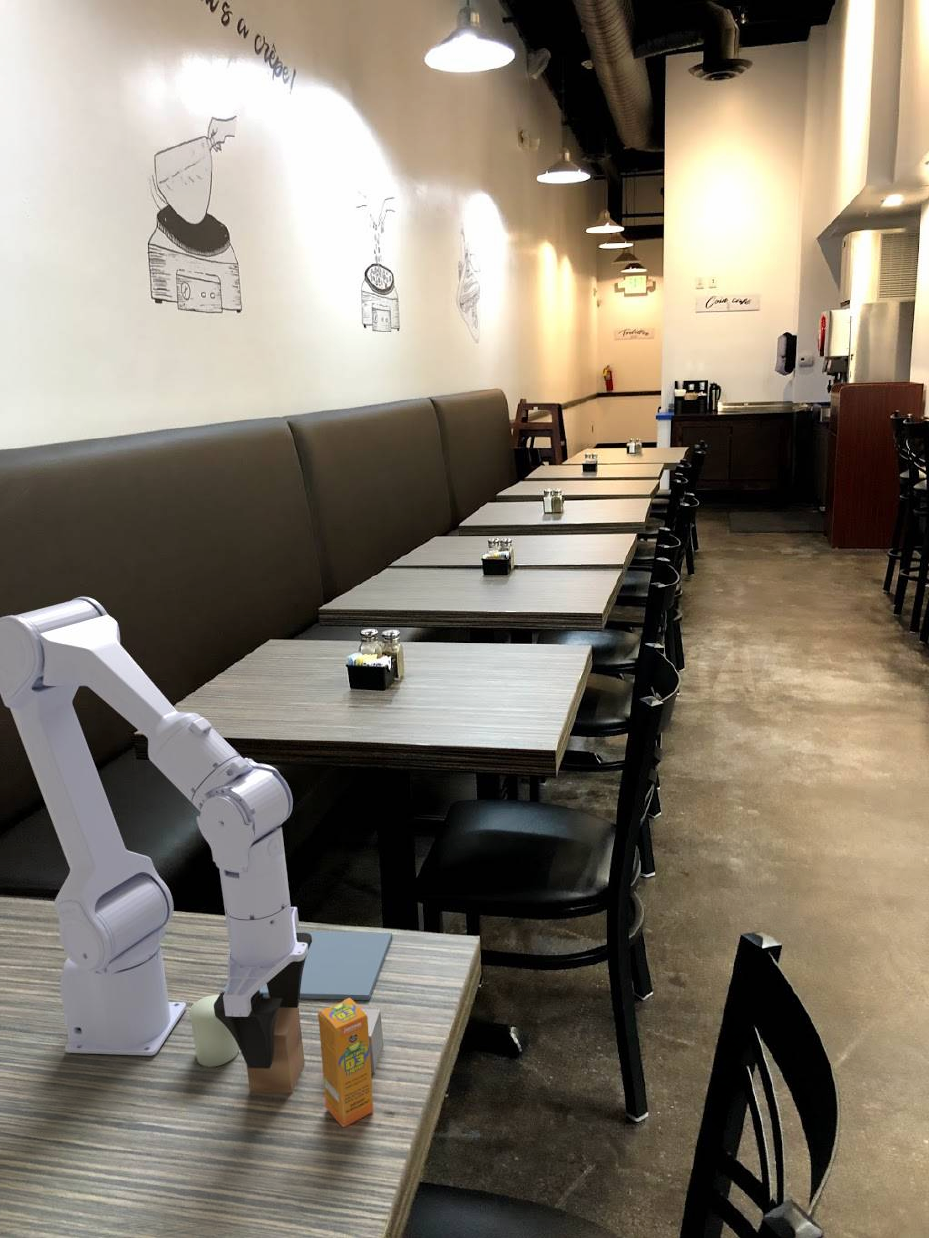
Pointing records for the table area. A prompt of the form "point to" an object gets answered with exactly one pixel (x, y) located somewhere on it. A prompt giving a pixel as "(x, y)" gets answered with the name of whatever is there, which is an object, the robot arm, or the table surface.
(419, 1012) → the table surface
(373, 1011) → the grey cube
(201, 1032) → the sage cylinder
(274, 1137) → the table surface
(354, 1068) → the supplement box
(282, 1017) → the walnut block
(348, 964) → the slate mat
